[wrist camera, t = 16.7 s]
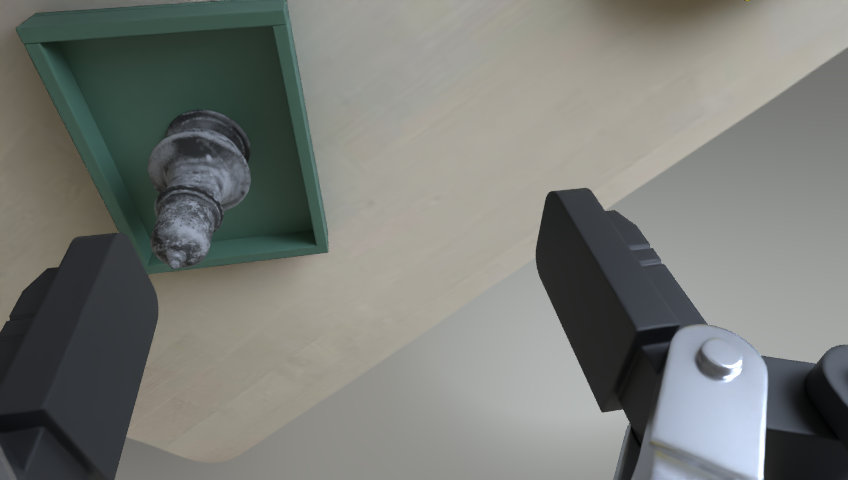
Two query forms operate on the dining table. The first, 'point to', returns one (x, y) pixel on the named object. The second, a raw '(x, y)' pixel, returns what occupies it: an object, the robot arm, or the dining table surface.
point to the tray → (177, 94)
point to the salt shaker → (196, 183)
